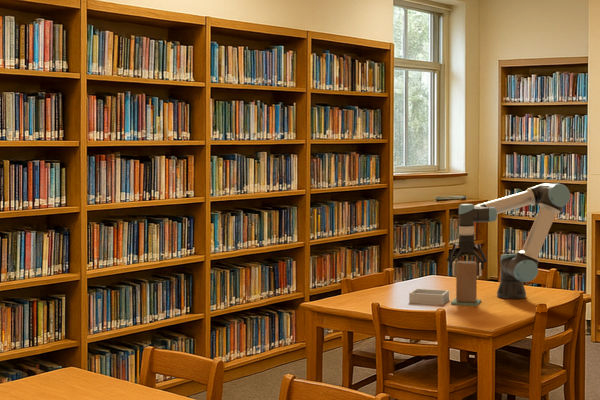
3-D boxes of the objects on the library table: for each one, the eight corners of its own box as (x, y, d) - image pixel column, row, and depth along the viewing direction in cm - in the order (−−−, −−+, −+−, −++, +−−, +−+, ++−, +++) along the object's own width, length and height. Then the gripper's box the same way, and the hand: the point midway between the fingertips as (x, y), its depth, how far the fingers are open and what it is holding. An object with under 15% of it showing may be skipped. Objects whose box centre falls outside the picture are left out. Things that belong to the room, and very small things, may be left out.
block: (476, 303, 420) (476, 263, 419) (456, 302, 422) (456, 263, 421) (476, 299, 430) (476, 261, 428) (456, 298, 432) (456, 260, 431)
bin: (449, 299, 436) (449, 290, 435) (443, 304, 422) (443, 295, 422) (416, 297, 442) (416, 288, 442) (409, 302, 429) (409, 293, 428)
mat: (481, 301, 429) (481, 299, 429) (476, 306, 417) (476, 303, 417) (456, 300, 434) (456, 298, 434) (451, 304, 422) (451, 302, 422)
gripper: (492, 233, 422) (493, 275, 424) (443, 233, 432) (444, 273, 433) (490, 235, 416) (490, 277, 417) (440, 234, 425) (441, 275, 426)
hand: (467, 275), depth 425 cm, fingers open, 13 cm apart
